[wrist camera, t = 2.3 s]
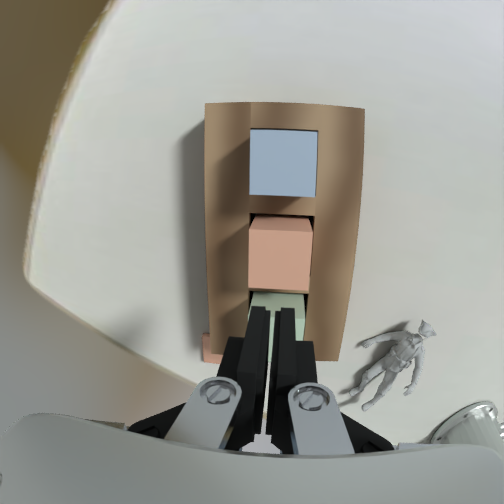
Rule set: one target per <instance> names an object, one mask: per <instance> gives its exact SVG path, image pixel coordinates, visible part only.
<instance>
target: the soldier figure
mask: <svg viewBox="0 0 504 504" xmlns="http://www.w3.org/2000/svg"><path fill="white" fill-rule="evenodd" d="M419 333H420V334H421V335H423V336H424V337H427V338H428V337H429V336H433V335H437V334H436V333H435V331H434V330H433V328H432V327H431V326H430V325H429V324H428V323H426V322H424V321H423V320H422V323H421V326H420V327H419ZM389 340H397V341H400V342H399V343H398V344H395V345H394V346H392V347H391V349H390V352H389V353H387V354H386V356H385V357H383V358H382V359H380V360H379V361H378V362H377V363H375V364H374V365H373V366H372V367H371V368H370V369H369V370H366V372H365V373H363V375H362V377H363V378H362V381H361V383H360V386H359V387H356V388H353V389H351V390H350V391H349V394H350V395H351V396H354V395H355V394H357V393H359V392H362V391H363V389H364V388H365V386H366V384H367V383H368V382H369V381H370V380H372V378H373V377H375V376H376V375H378V374H379V373H381V372H382V371H384V370H386V372H385V376H384V379H383V381H382V383H381V384H380V385H379V387H378V390H377V393H376V394H375V396H374V398H373V399H372V400H370V401H368V402H367V403H365V404H363V405H362V410H363V411H366V410H367V409H368V408H370V407H371V406H372V405H374V404H375V403H376V402H377V401H378V400H379V399H380V398H382V397H383V396H384V395H385V394H386V392H387V391H389V390H390V388H391V385H392V383H393V382H394V380H395V378H396V377H397V375H398V373H399V372H401V371H402V370H403V368H408V367H409V366H410V364H411V362H412V361H411V360H412V359H413V358H414V357H415V368H414V371H413V375H412V381H411V382H412V383H411V384H410V385H408V386H406V387H405V388H408V390H407V391H406V392H405V393H406V394H405V393H404V395H405V396H406V395H409V394H410V393H411V392H412V391H413V389H414V387H415V385H416V384H417V382H418V379H419V377H420V374H421V372H422V367H423V361H424V354H425V349H424V347H423V345H422V344H423V343H422V341H423V339H422V337H421V336H420V335H419V334H411V333H410V332H408V331H400V332H389V333H386V334H381V335H379V336H376V337H374V338H372V339H368V340H367V341H365V342H363V343H362V344H363V345H362V346H363V348H364V347H365V346H366V347H365V348H367V347H369V346H370V345H372V344H373V343H375V342H376V343H378V342H383V341H389ZM424 340H425V339H424ZM365 344H366V345H365ZM367 345H368V346H367ZM405 388H404V389H405Z"/></svg>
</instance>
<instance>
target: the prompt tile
mask: <svg viewBox="0 0 504 504" xmlns="http://www.w3.org/2000/svg"><path fill="white" fill-rule="evenodd" d="M202 343H203V355H204V362H207V363H216V364H220V363H221V360H222V357H223V355H219V354H211V344H210V334H207V333H203V335H202Z"/></svg>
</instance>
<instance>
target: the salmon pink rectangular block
mask: <svg viewBox="0 0 504 504" xmlns="http://www.w3.org/2000/svg"><path fill="white" fill-rule="evenodd" d="M312 239H313V231H312V227H311V224H310V221H309V218H308V215H289V214H266V213H257V214H256V216H255V218H254V220H253V222H252V224H251V226H250V228H249V272H248V288H265V289H283V290H304V291H308V288H309V277H310V265H311V253H312Z"/></svg>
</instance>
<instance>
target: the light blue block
mask: <svg viewBox="0 0 504 504" xmlns="http://www.w3.org/2000/svg"><path fill="white" fill-rule="evenodd" d="M316 166H317V132H309V131H288V130H250V191H249V195H276V196H299V197H315V189H316Z"/></svg>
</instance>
